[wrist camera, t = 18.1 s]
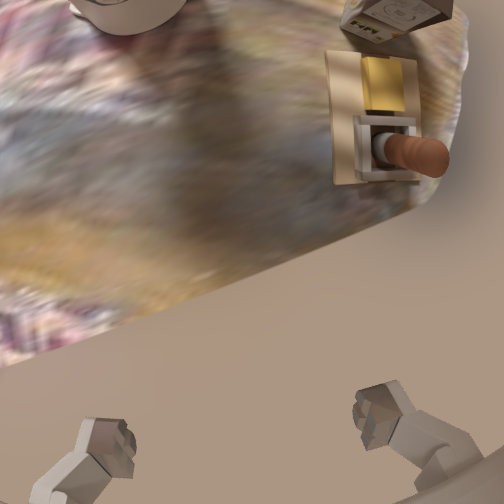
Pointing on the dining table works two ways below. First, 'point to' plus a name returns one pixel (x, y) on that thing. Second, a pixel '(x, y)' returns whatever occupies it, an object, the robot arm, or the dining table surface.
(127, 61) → the dining table surface
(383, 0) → the coffee box
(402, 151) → the terracotta peg
